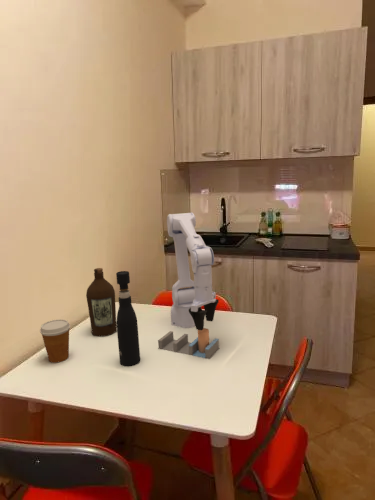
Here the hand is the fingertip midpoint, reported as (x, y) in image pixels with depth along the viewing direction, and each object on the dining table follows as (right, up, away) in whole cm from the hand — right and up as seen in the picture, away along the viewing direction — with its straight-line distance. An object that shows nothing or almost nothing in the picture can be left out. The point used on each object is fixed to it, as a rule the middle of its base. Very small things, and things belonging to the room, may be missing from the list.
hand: (204, 325), depth 123 cm
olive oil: (-38, -7, +22) cm, 44 cm away
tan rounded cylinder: (0, -8, 0) cm, 8 cm away
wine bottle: (-24, -12, -4) cm, 27 cm away
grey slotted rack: (-5, -9, +3) cm, 11 cm away
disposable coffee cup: (-49, -12, +2) cm, 50 cm away
